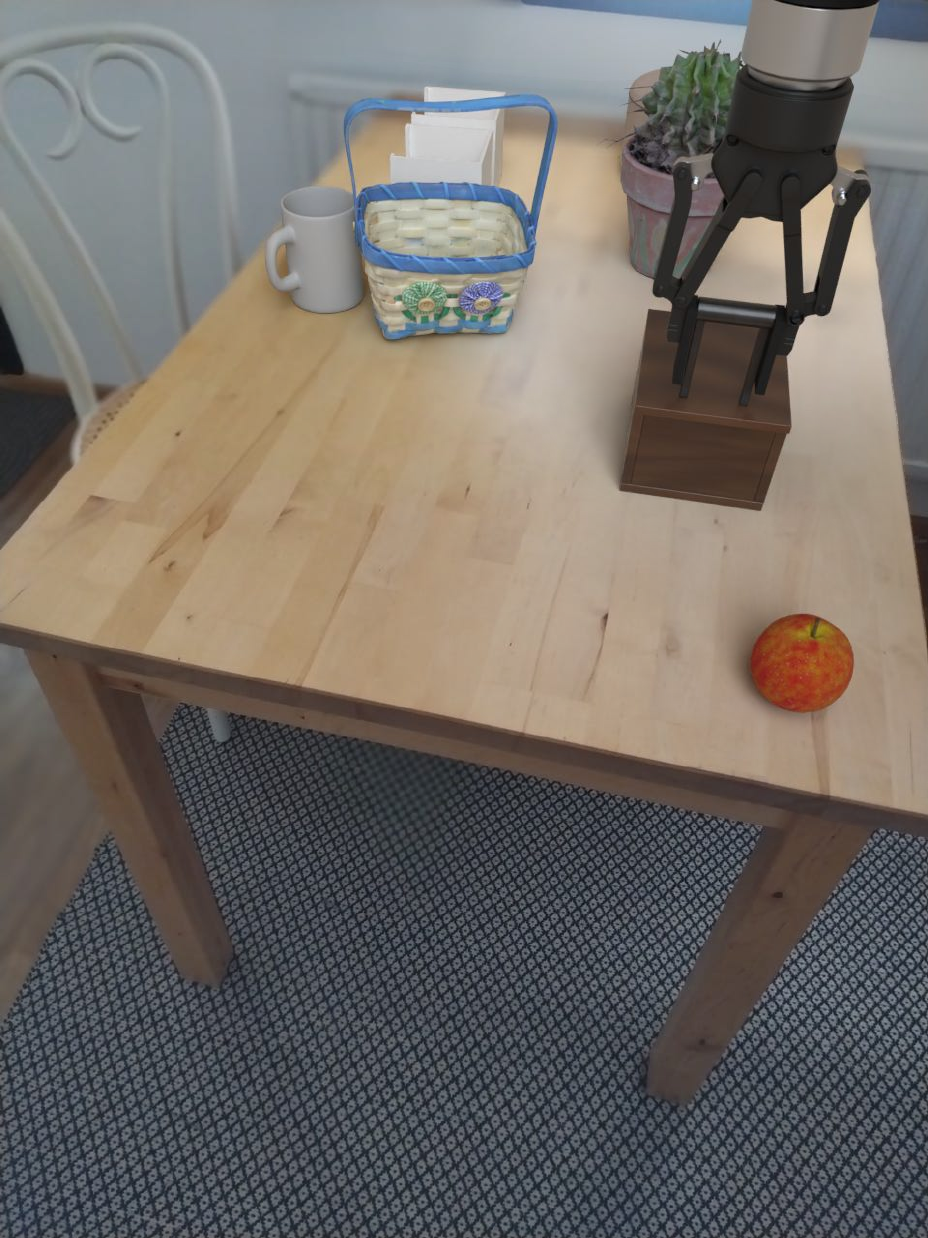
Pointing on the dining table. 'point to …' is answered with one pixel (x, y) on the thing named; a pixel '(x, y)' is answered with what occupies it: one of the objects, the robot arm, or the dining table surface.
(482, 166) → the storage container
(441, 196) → the basket
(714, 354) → the lid
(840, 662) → the fruit
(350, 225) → the mug
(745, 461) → the chest
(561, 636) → the dining table surface
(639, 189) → the potted plant
